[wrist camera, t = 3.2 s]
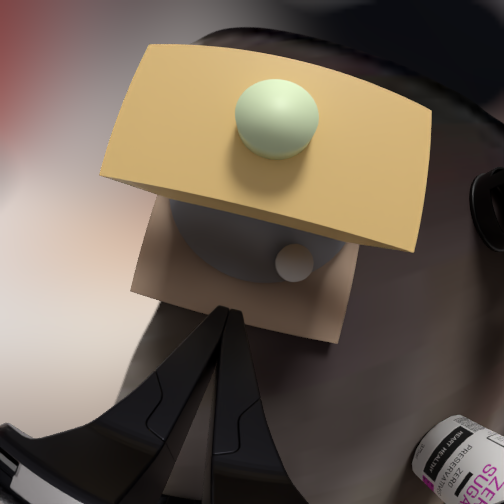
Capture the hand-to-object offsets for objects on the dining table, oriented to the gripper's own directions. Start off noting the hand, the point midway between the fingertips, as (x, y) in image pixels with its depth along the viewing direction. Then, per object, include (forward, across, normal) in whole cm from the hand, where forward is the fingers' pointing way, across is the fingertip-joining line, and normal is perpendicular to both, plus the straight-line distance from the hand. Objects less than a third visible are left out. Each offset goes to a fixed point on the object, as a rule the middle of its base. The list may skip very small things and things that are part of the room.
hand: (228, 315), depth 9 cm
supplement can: (0, -25, +17) cm, 30 cm away
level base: (+14, 0, +2) cm, 15 cm away
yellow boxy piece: (+12, 0, 0) cm, 12 cm away
